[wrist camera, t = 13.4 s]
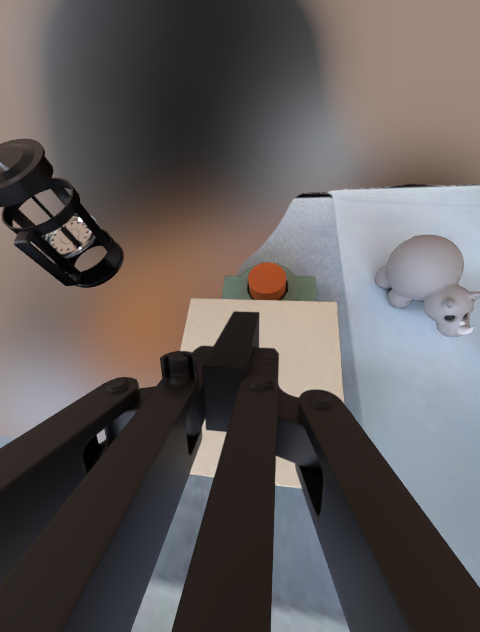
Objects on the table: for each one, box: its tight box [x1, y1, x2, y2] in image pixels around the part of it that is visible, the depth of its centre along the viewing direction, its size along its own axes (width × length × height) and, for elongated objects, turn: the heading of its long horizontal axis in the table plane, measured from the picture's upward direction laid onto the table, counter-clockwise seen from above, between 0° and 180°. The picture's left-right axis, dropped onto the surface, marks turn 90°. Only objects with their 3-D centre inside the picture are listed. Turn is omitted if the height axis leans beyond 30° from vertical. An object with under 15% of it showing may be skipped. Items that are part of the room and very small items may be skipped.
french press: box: [0, 139, 124, 288], centre depth 33 cm, size 12×9×23 cm
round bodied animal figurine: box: [375, 235, 480, 337], centre depth 30 cm, size 7×12×8 cm, turn 12°
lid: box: [180, 298, 344, 488], centre depth 21 cm, size 14×13×1 cm
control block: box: [222, 263, 316, 301], centre depth 34 cm, size 12×9×4 cm
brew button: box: [248, 262, 286, 300], centre depth 32 cm, size 4×4×2 cm
